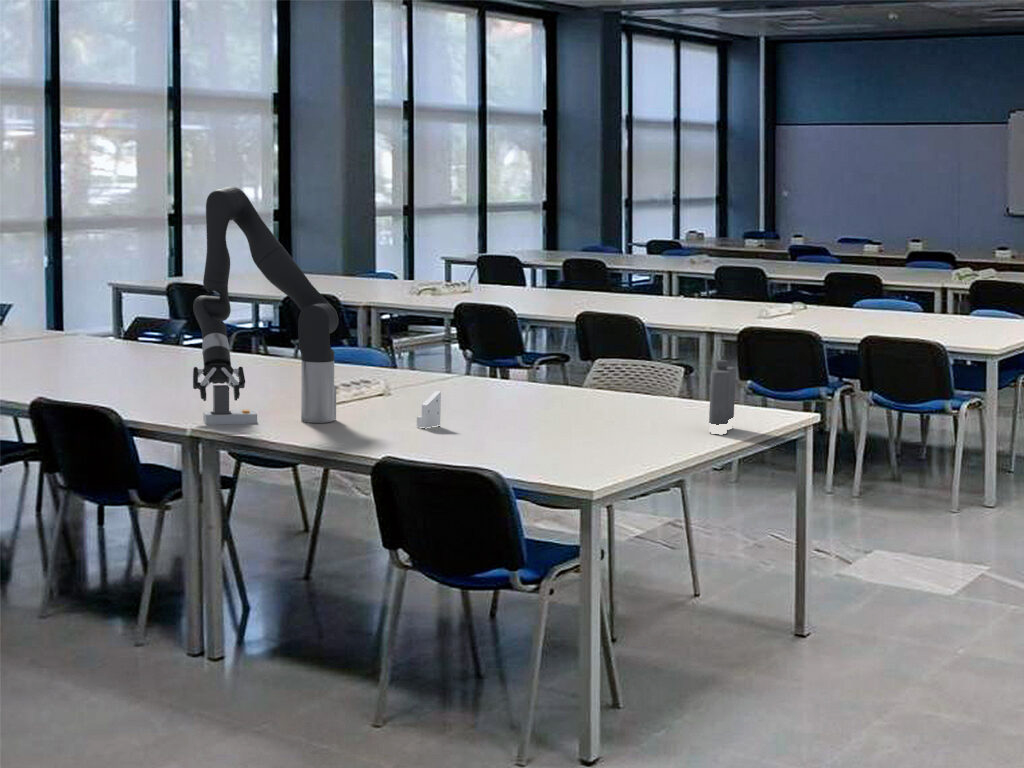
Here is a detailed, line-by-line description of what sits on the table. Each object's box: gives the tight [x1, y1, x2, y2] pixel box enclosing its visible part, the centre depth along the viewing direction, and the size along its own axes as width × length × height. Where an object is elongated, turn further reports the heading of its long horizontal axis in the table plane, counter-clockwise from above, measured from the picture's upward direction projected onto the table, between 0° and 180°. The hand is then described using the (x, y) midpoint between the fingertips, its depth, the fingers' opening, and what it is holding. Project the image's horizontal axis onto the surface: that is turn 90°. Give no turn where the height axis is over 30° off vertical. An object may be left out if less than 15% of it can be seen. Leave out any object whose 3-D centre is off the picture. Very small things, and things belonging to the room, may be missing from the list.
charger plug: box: [212, 384, 230, 415], centre depth 420 cm, size 4×4×10 cm
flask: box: [708, 359, 737, 425], centre depth 427 cm, size 15×6×20 cm, turn 162°
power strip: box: [202, 409, 258, 426], centre depth 421 cm, size 14×7×4 cm, turn 107°
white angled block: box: [416, 390, 442, 428], centre depth 423 cm, size 4×10×9 cm
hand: (220, 399), depth 421 cm, fingers open, 8 cm apart
